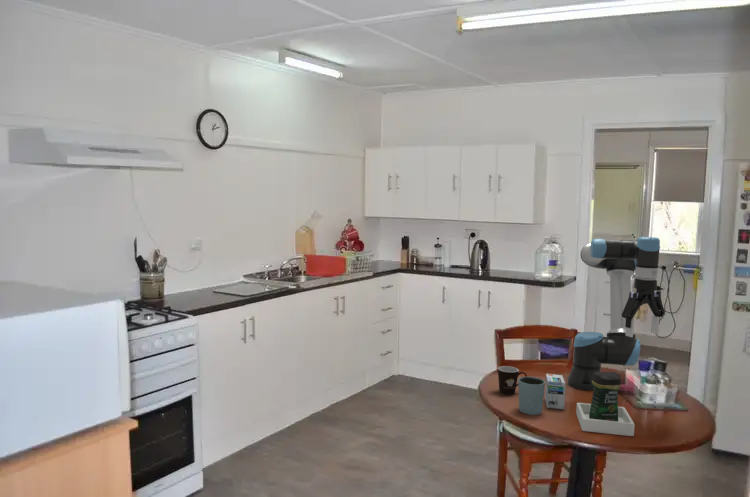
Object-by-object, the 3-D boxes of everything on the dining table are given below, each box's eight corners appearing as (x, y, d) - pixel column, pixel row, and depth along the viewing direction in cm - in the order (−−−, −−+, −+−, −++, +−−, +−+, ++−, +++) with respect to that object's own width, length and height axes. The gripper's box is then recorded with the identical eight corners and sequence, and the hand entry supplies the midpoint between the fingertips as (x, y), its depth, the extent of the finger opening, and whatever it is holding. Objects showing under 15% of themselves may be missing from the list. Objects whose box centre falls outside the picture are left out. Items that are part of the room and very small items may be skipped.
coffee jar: (596, 426, 207) (600, 376, 205) (585, 418, 214) (588, 369, 213) (622, 426, 208) (625, 375, 206) (610, 417, 216) (613, 368, 214)
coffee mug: (494, 394, 241) (496, 370, 240) (498, 387, 249) (499, 365, 248) (523, 398, 237) (524, 374, 236) (526, 392, 245) (527, 368, 244)
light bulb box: (564, 409, 225) (566, 382, 224) (546, 408, 226) (548, 381, 225) (561, 400, 236) (563, 374, 235) (544, 398, 237) (545, 373, 236)
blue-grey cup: (527, 416, 216) (529, 385, 215) (511, 407, 226) (512, 377, 225) (549, 413, 221) (551, 382, 219) (532, 404, 230) (533, 375, 229)
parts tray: (576, 413, 221) (576, 402, 221) (623, 418, 218) (624, 407, 217) (582, 430, 205) (583, 419, 204) (633, 436, 201) (634, 424, 201)
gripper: (630, 281, 206) (626, 340, 208) (677, 278, 217) (673, 334, 219) (613, 278, 213) (609, 335, 215) (660, 276, 224) (656, 330, 226)
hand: (641, 334), depth 217 cm, fingers open, 13 cm apart
